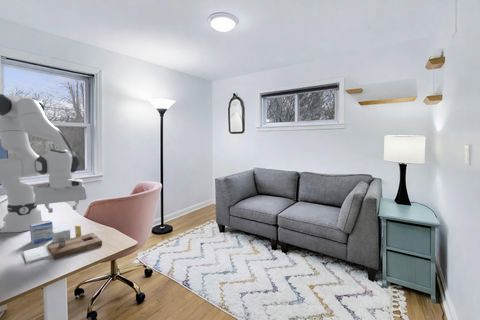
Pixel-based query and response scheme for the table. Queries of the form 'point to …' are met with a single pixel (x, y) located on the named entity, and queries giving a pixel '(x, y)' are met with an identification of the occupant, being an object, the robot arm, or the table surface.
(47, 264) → the table surface
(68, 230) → the light grey cube
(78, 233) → the peg
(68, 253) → the board
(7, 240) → the table surface
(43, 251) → the external hard drive
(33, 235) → the medicine box
